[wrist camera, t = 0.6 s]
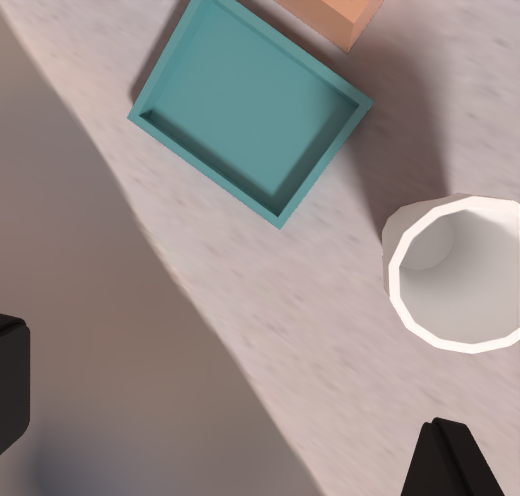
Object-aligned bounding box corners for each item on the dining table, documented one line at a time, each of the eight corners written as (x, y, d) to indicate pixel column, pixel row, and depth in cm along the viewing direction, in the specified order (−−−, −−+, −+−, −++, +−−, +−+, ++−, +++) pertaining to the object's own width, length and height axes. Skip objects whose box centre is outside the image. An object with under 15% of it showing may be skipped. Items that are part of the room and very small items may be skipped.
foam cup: (346, 218, 35) (359, 247, 22) (441, 164, 33) (516, 163, 20) (395, 303, 36) (435, 377, 23) (491, 256, 33) (593, 311, 21)
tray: (212, -9, 32) (203, -23, 30) (370, 106, 32) (374, 101, 30) (139, 121, 36) (126, 117, 34) (282, 225, 36) (279, 229, 33)
